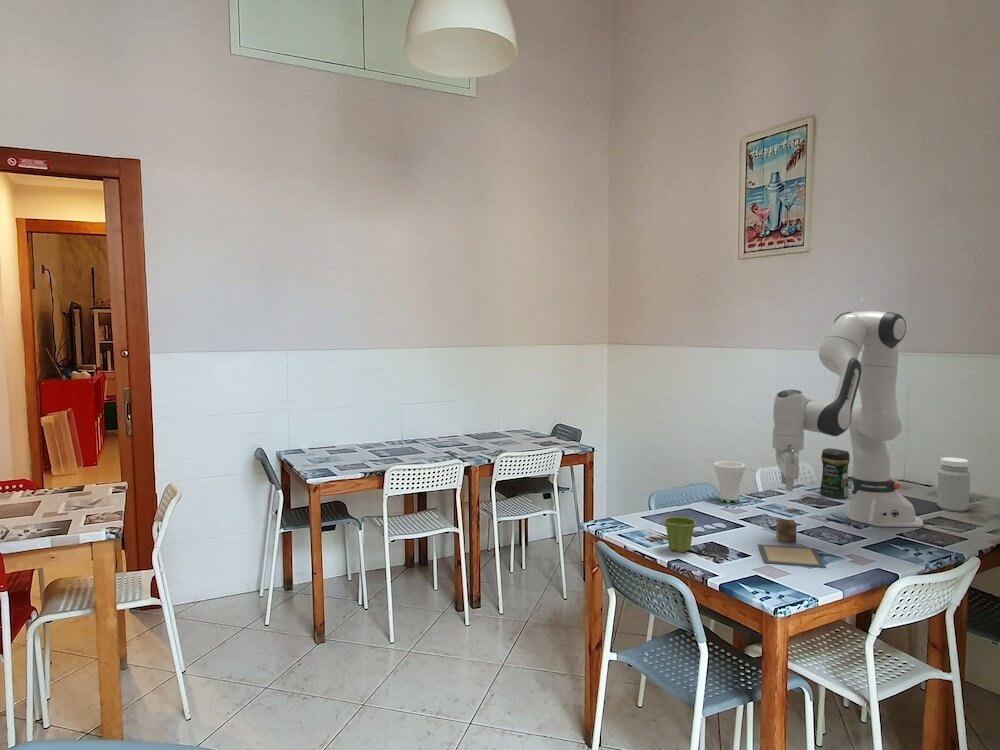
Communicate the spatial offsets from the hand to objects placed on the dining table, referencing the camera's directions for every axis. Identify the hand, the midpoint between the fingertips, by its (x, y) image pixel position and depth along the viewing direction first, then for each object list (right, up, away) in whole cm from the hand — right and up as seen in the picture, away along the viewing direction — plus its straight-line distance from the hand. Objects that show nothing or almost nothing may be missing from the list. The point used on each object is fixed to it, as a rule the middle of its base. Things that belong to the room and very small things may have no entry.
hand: (786, 487), depth 207 cm
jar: (+75, -14, +35) cm, 84 cm away
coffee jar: (+42, -13, +54) cm, 69 cm away
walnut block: (0, -17, +1) cm, 17 cm away
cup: (-1, -14, +49) cm, 51 cm away
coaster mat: (-5, -18, -13) cm, 22 cm away
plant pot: (-35, -18, -6) cm, 39 cm away
